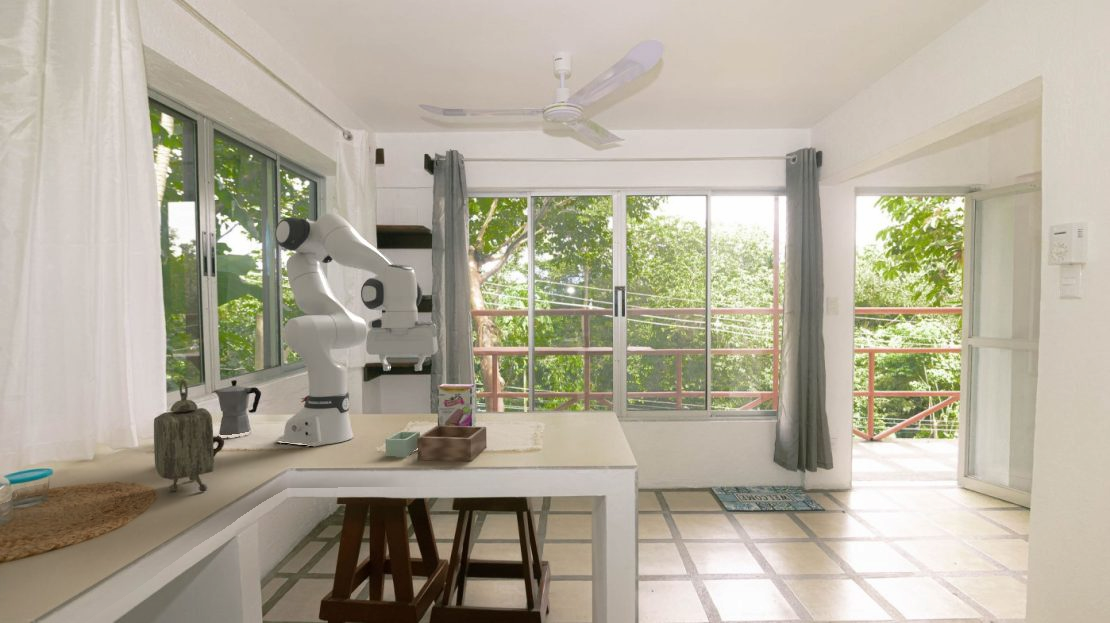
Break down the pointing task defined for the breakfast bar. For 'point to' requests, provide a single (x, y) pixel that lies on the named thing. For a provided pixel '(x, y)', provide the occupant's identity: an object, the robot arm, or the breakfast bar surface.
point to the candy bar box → (456, 405)
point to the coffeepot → (236, 408)
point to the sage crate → (402, 444)
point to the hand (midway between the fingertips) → (402, 370)
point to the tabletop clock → (184, 442)
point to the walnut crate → (452, 443)
